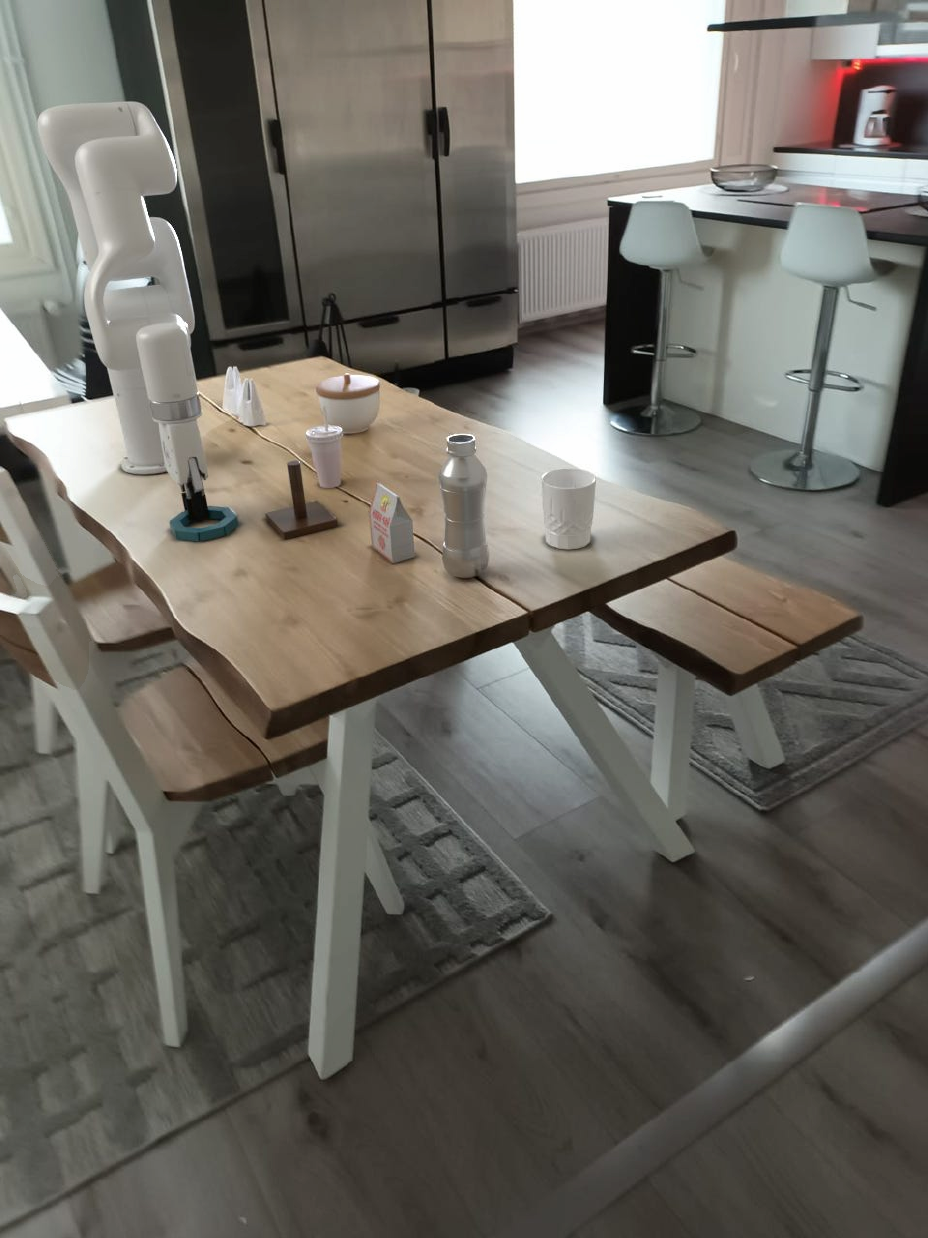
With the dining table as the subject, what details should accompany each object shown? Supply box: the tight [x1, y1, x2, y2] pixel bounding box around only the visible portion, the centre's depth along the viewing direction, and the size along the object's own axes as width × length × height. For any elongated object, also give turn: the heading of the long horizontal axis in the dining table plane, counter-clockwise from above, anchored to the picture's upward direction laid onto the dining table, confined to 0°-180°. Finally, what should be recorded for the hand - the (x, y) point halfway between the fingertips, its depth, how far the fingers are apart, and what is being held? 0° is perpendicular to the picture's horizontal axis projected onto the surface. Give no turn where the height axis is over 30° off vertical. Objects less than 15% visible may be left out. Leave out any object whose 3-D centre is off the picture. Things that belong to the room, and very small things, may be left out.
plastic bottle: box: [438, 433, 490, 579], centre depth 130 cm, size 6×7×20 cm
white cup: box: [541, 468, 597, 550], centre depth 141 cm, size 8×8×10 cm
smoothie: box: [305, 406, 344, 489], centre depth 163 cm, size 6×6×14 cm
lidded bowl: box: [315, 372, 381, 435], centre depth 190 cm, size 13×13×11 cm
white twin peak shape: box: [221, 365, 267, 427], centre depth 197 cm, size 12×4×11 cm, turn 40°
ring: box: [169, 505, 239, 543], centre depth 152 cm, size 10×10×2 cm
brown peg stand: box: [265, 460, 339, 540], centre depth 150 cm, size 9×9×10 cm
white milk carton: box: [368, 482, 416, 564], centre depth 140 cm, size 4×7×10 cm, turn 31°
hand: (197, 515), depth 156 cm, fingers closed on ring, 1 cm apart
